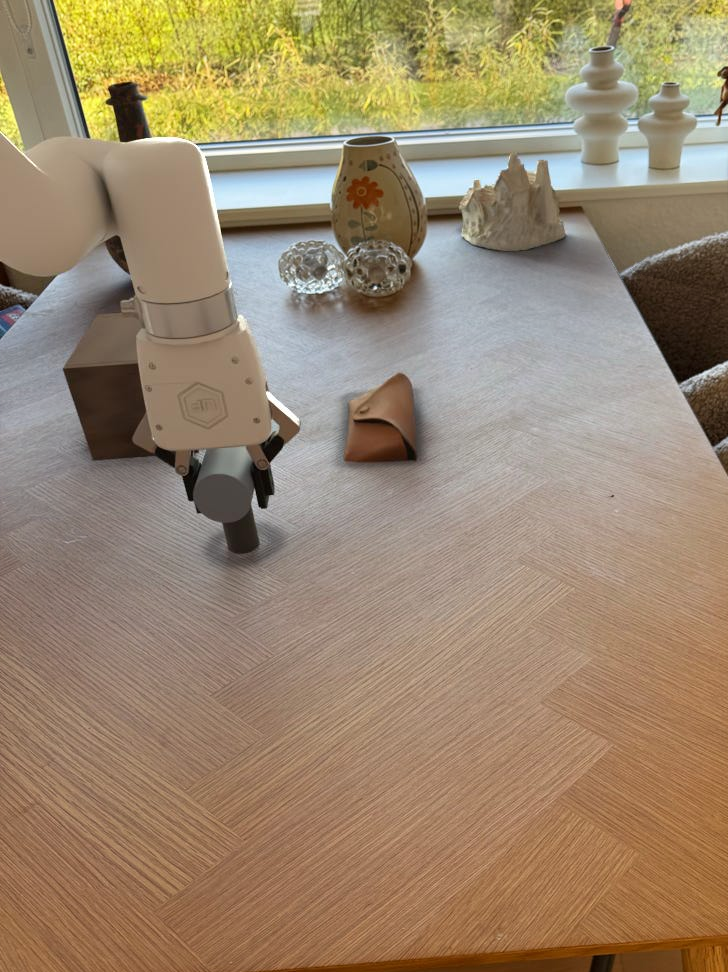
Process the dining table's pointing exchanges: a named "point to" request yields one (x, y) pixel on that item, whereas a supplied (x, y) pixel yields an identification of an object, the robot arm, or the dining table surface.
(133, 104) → the glass bottle
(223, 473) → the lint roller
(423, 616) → the dining table surface
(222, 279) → the robot arm
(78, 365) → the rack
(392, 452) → the sunglasses case
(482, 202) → the ceramic cottage
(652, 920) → the dining table surface
